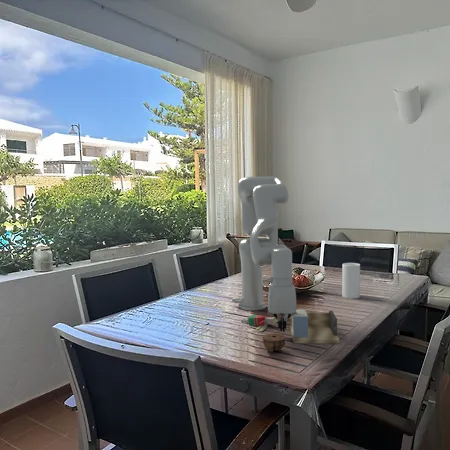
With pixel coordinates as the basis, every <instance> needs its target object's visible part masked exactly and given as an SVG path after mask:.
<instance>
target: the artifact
mask: <svg viewBox="0 0 450 450" xmlns="http://www.w3.org/2000/svg"><path fill="white" fill-rule="evenodd" d="M262 342H263V346H264V347H265V349H266V350H267V351H268V352H269V353H273V352H274V351H278V352H281V351H282V349H283V348H284V347H285V345H286V336H285V335H284V334H282V333H266V334H264V335H262Z"/></svg>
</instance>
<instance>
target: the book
mask: <svg viewBox="0 0 450 450" xmlns="http://www.w3.org/2000/svg"><path fill="white" fill-rule="evenodd" d="M296 312H297V314H293V316H292V331H293V336H294V337H308V316H307V313H306V312H307V310H306V309H304V308H303V309H302V308H301V309H297V308H296Z"/></svg>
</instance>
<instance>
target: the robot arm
mask: <svg viewBox="0 0 450 450" xmlns="http://www.w3.org/2000/svg"><path fill="white" fill-rule="evenodd" d="M237 191H238V195H239V199H240V202H241V226H242V229H241V230H242V233H243V234H244V236H250V237H249V238H244V239H242V240H241V241H240V242H239V244H238V251H239V258H240V268H241V270H240V271H241V275H240V276H241V297H232V298H231V299H232V301H231V302H232V303H234V304H238V308H239V309H240V310H243V311H250V312H251V311H262V310H265V309H266V308H267V307H268V309H267V316H269V317H270V316H272V317H275V318H276V320H278V322H277V329H278V330H279V331H280V332H281V333H282V332H284V333H285V332H286V330H285V329H287V321H288V320H290V317H291V316H293V314H297V312H296V309H297V293H296V288H295V284H293V251H292V250H291V249H290V248H289V247H288V246H287V245H285V244H280V243H279V244H278V241H279V240H278V239H279V236H278V235H279V232H278V229H279V226H278V222H279V220H280V219H279V218H280V217H279V213H278V208H277V206H278V205H286V204H287V203H288V201H289V190H288V188H287V185H285V184H284V182H283V181H282V180H281V179H279V178H278V176H277V177H276V176H247V177H242V178H240V180H239V181H238V183H237ZM259 236H265V237H259ZM270 265H271V267H270V268H271V269H270V272H271V273H270V274H271V277H270V278H267V283H270V285H269V287H268V298H267V299H268V301H267V303H265V302H264V296H263V295H264V293H263V292H264V290H263V289H264V288H263V286H264V285H263V268H262V266H270ZM281 315H283V317H281Z"/></svg>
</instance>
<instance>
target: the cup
mask: <svg viewBox="0 0 450 450" xmlns="http://www.w3.org/2000/svg"><path fill="white" fill-rule="evenodd" d="M341 269H342V274H341V276H342V278H341V279H342V280H341V281H342V283H341V286H342V287H341V292H342V294H341V295H342V296H341V297H343V298H344V299H350V300H351V299H353V300H354V299H359V298H360V297H361V296H360V295H361V292H360V291H361V264H360V263H358V262H357V263H356V262H344V263H342V268H341Z"/></svg>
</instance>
